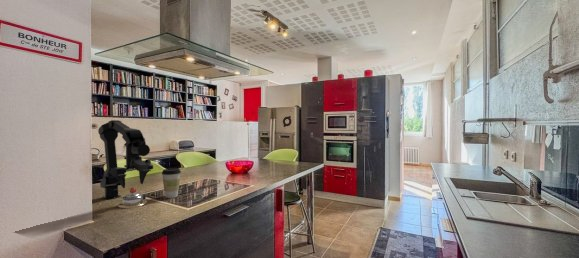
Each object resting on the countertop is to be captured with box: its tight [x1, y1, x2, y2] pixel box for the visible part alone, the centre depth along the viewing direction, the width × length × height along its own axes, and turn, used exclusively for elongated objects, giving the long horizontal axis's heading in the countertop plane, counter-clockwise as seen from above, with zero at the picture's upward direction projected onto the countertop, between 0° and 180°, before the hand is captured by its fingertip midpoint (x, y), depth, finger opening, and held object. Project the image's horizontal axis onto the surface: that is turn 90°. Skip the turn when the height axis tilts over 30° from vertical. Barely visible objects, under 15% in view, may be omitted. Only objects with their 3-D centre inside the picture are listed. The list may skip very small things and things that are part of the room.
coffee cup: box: [161, 167, 182, 199], centre depth 138 cm, size 10×10×15 cm
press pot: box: [118, 193, 148, 209], centre depth 124 cm, size 12×12×4 cm
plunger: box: [125, 187, 141, 198], centre depth 124 cm, size 6×6×4 cm
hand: (133, 185), depth 124 cm, fingers open, 9 cm apart
